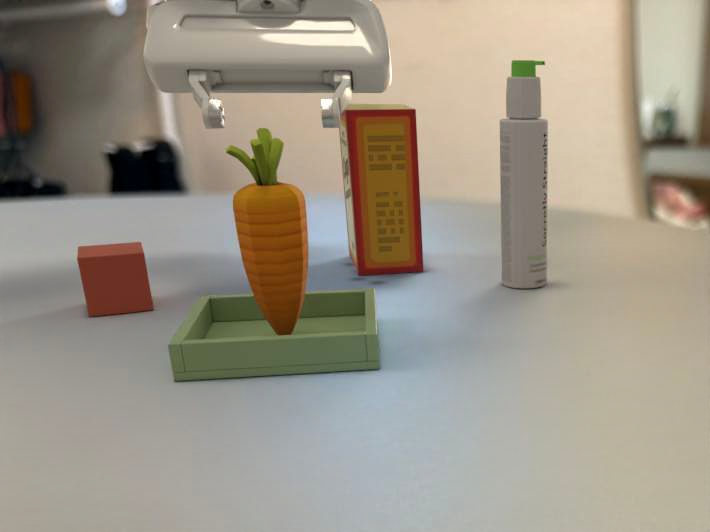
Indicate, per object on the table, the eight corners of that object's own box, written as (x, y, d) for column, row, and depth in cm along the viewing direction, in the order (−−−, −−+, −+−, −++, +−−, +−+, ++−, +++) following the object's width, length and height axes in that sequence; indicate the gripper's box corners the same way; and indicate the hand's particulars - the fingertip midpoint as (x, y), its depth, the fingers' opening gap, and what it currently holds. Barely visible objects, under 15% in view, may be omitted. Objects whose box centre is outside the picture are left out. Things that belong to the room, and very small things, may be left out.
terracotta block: (88, 317, 71) (76, 257, 69) (89, 302, 75) (77, 246, 73) (153, 310, 73) (143, 252, 71) (150, 296, 77) (141, 241, 75)
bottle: (525, 291, 79) (524, 60, 72) (492, 283, 82) (488, 60, 75) (556, 283, 82) (558, 60, 75) (523, 275, 85) (522, 60, 78)
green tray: (173, 381, 57) (167, 344, 56) (205, 327, 68) (200, 295, 67) (379, 369, 59) (377, 333, 58) (376, 318, 71) (374, 288, 70)
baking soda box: (349, 255, 93) (336, 101, 87) (408, 252, 95) (400, 100, 89) (358, 275, 85) (345, 106, 79) (423, 271, 87) (415, 105, 81)
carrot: (293, 352, 61) (268, 132, 55) (236, 344, 62) (206, 130, 57) (332, 333, 65) (313, 127, 59) (277, 326, 67) (254, 125, 61)
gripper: (137, -33, 71) (128, 96, 66) (384, -27, 75) (394, 96, 70) (157, 27, 77) (150, 150, 72) (386, 30, 81) (396, 147, 75)
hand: (273, 123), depth 71 cm, fingers open, 8 cm apart
